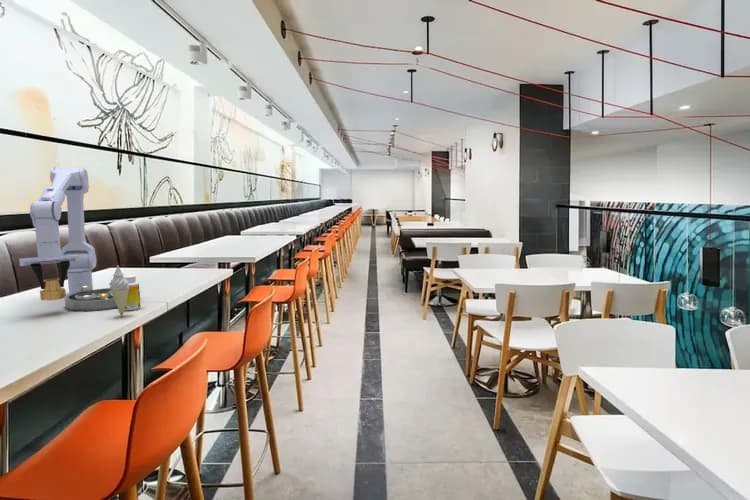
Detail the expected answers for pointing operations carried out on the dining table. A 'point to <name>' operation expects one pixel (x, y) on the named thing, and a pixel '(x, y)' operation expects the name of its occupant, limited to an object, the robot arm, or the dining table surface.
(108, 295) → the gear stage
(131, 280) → the beer glass
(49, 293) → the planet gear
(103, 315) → the dining table surface
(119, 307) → the ice cream cone
